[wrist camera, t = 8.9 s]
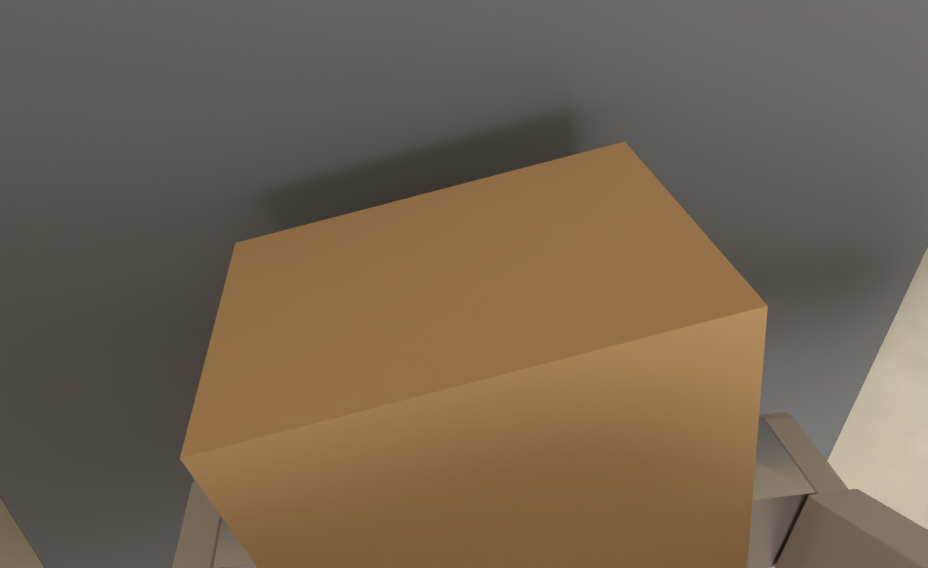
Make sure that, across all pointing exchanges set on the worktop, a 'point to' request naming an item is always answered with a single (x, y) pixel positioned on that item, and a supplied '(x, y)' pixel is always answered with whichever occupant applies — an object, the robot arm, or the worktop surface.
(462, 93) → the mat
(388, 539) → the cardboard box
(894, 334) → the worktop surface
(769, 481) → the robot arm
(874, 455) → the worktop surface
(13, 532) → the worktop surface
